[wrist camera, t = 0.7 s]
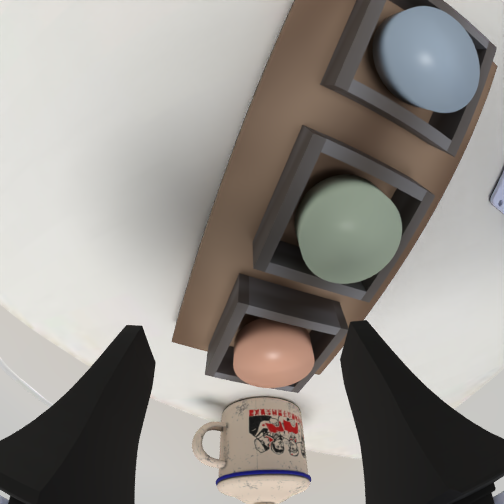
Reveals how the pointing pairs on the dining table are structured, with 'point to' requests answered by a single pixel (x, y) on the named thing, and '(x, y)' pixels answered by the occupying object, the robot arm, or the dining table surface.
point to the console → (318, 179)
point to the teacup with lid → (258, 451)
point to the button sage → (347, 229)
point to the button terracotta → (272, 353)
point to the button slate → (427, 59)
